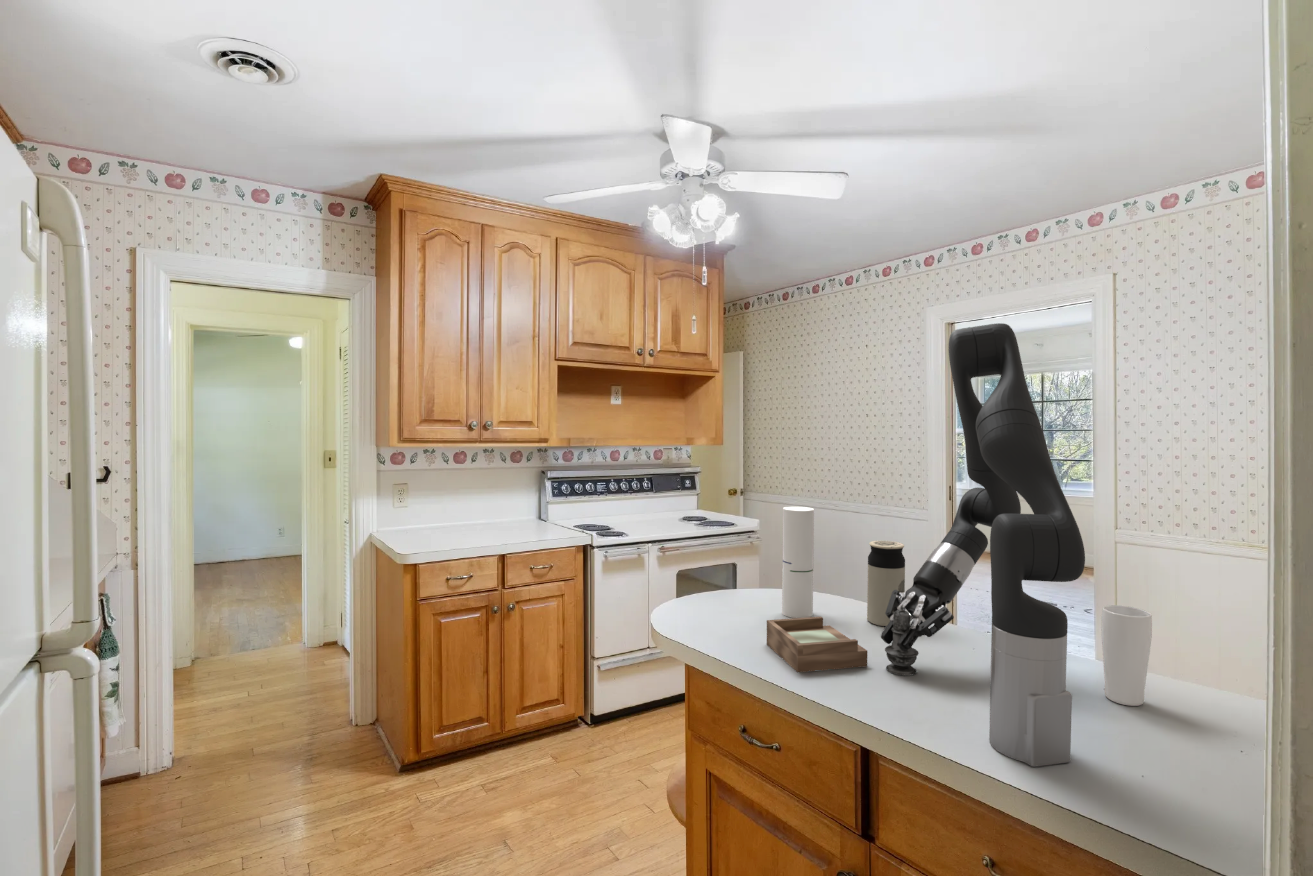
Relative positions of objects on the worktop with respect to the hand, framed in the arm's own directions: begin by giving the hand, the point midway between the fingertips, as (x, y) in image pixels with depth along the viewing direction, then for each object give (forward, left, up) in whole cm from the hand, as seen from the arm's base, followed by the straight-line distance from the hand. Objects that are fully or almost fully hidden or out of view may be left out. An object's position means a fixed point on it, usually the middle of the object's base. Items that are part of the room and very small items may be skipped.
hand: (893, 644), depth 119 cm
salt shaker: (0, -2, -5) cm, 6 cm away
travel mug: (+26, -15, -5) cm, 31 cm away
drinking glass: (-19, -31, -5) cm, 36 cm away
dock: (+11, +10, -5) cm, 16 cm away
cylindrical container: (+36, +2, -5) cm, 37 cm away
